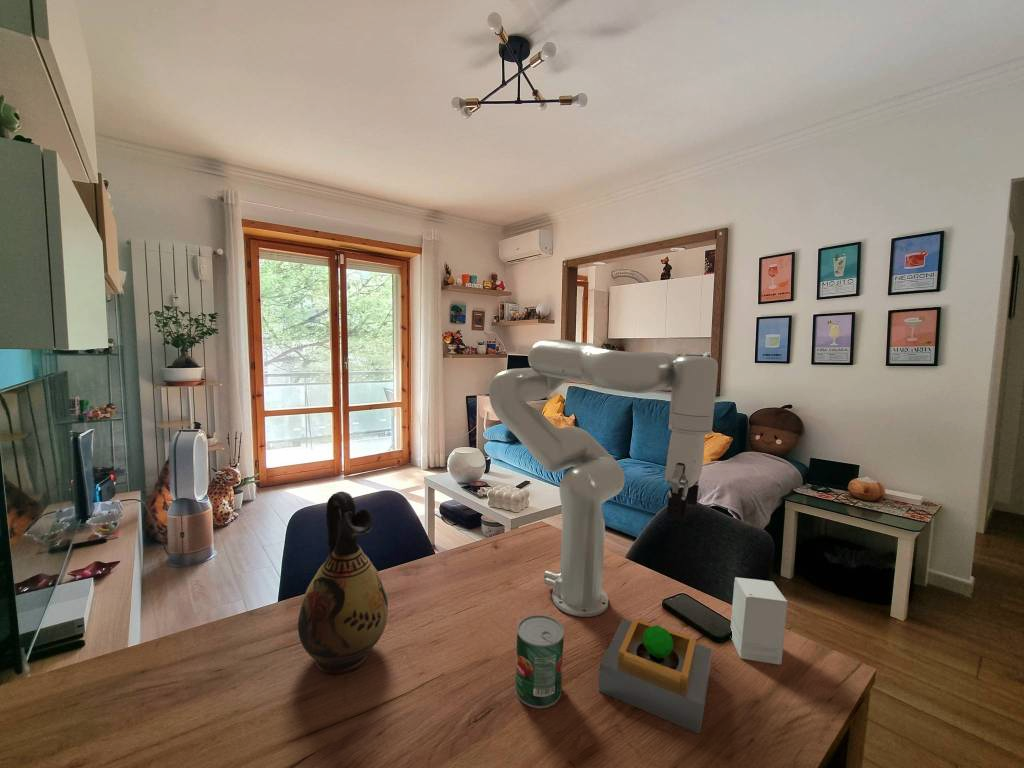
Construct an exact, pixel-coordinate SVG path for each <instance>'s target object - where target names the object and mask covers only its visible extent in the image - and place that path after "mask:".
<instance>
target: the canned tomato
mask: <svg viewBox="0 0 1024 768" xmlns="http://www.w3.org/2000/svg"><path fill="white" fill-rule="evenodd" d="M564 628H565V627H564V626H563V625H562V624H561V622H559V620H557V619H555V617H552V616H548V615H544V614H543V615H542V614H532V615H528V616H526V617H523V618H522V619H521V620H520V621H519V622H518V624H517V626H516V632H517V633H516V650H515V651H516V653H515V654H516V655H515V657H516V658H515V683H514V684H515V685H514V692H515V696H516V697H517V698H518V699H519V701H520V702H522V703H523V704H524V705H526V706H528V707H531V708H535V709H546V708H549V707H552V706H554V705H555V704H556V703H557V702H558V701H559V699H560V698H561V696H562V682H563V681H562V679H563V678H562V677H563V660H564V642H565V641H564V638H565V637H564V635H565V629H564Z"/></svg>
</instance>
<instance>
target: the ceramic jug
mask: <svg viewBox="0 0 1024 768" xmlns="http://www.w3.org/2000/svg"><path fill="white" fill-rule="evenodd" d="M325 518H326V526H327V540H328V541H327V545H328V549H329V550H328V551H329V552H328V555H327V557H326V559H325V561H324V562H323V564H321V566H320V567H319V568H318V570H317V572H316V574H314V577H313V578H312V580H311V581H310V583H309V585H308V587H307V589H306V591H305V593H304V596H303V598H302V602H301V605H300V609H299V614H298V619H297V620H298V621H297V632H298V638H299V641H300V643H301V645H302V647H303V648H304V650H305V652H306V653H307V654H308V655H309V657H311V658H312V659H314V660H315V661H314V662H315V665H316V666H317V668H318V671H321V673H322V674H324V675H326V676H328V675H344V674H348V673H351V672H353V671H355V670H357V669H358V668H359V666H360V665H362V664H363V663H364V662H365V661H366V660H367V658H368V656H369V652H370V651H371V650H372V649H373V648H374V646H375V645H376V644H377V643H378V641H380V639H381V636H382V635H383V633H384V631H385V629H386V625H387V621H388V615H389V614H388V612H389V608H388V607H389V600H388V596H387V592H386V591H387V590H386V588H385V587H386V586H385V585H384V582H383V580H382V577H381V574H380V573H379V571H378V570H377V568H376V567H375V566H374V564H373V563H372V561H371V560H370V558H369V557H368V556H367V554H366V553H364V551H363V550H362V549H363V548H361V546H360V545H359V544H358V536H361V535H366V534H368V533H370V532H371V530H372V528H373V525H374V524H373V518H372V515H371V513H370V511H369V510H368V509H367V508H362V509H361V510H359V511H356V504H355V501H354V498H353V497H352V495H351V494H350V493H348V492H346V491H338V492H335V493H333V494H332V495H330V497H329V499H328V500H327V503H326V515H325Z"/></svg>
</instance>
